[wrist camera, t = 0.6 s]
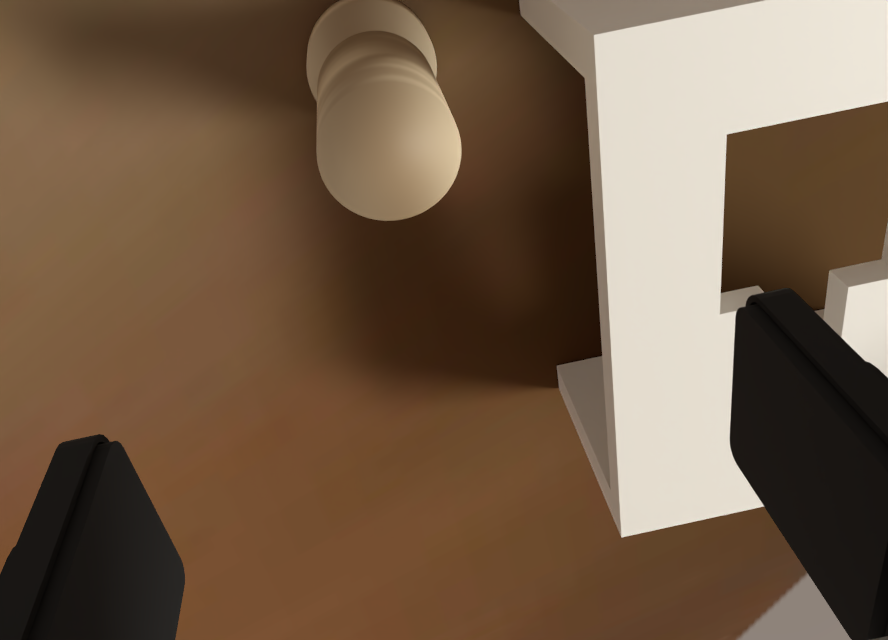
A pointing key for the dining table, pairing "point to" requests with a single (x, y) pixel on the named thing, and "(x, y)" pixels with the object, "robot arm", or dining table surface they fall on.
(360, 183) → the peg
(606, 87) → the keyhole shelf
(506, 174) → the dining table surface
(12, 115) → the dining table surface
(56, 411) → the dining table surface
